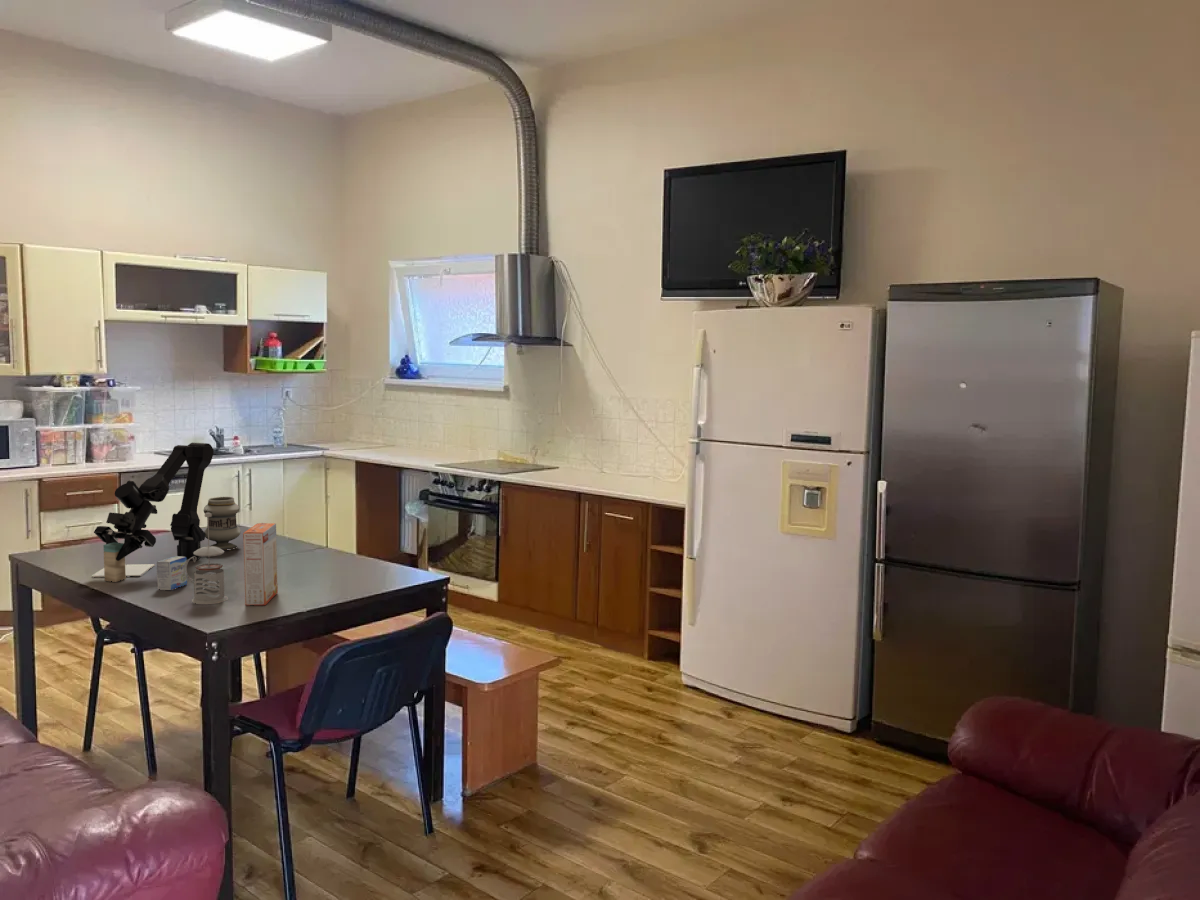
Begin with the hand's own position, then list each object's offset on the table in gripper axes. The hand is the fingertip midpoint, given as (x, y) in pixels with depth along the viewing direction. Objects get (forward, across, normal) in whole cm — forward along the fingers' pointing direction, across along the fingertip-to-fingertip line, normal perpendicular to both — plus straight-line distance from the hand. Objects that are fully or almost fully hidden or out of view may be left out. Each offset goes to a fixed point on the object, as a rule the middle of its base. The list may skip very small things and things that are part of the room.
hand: (111, 559), depth 283 cm
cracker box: (+7, +54, +3) cm, 54 cm away
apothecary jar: (-32, 0, +42) cm, 52 cm away
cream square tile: (-3, -6, +13) cm, 14 cm away
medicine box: (+5, +22, +5) cm, 23 cm away
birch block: (+4, 0, +6) cm, 7 cm away
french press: (+10, +40, -1) cm, 41 cm away
